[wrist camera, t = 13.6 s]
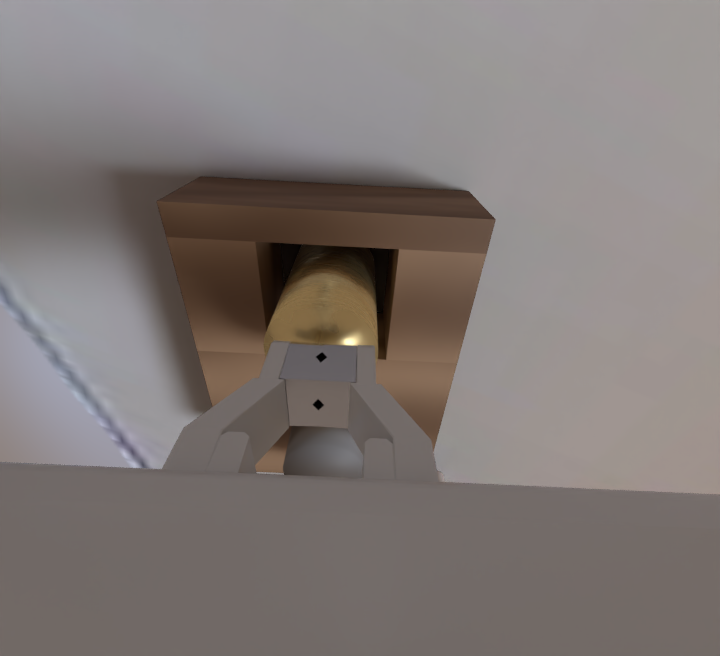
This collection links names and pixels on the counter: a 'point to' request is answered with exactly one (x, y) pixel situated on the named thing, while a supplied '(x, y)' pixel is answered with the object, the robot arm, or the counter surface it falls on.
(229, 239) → the jig
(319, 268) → the tan cylinder
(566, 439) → the counter surface
